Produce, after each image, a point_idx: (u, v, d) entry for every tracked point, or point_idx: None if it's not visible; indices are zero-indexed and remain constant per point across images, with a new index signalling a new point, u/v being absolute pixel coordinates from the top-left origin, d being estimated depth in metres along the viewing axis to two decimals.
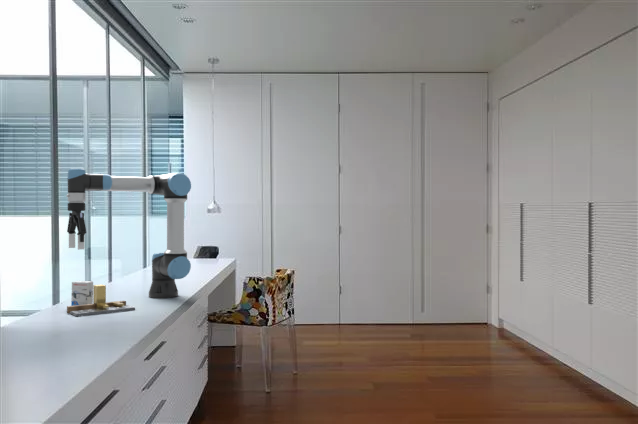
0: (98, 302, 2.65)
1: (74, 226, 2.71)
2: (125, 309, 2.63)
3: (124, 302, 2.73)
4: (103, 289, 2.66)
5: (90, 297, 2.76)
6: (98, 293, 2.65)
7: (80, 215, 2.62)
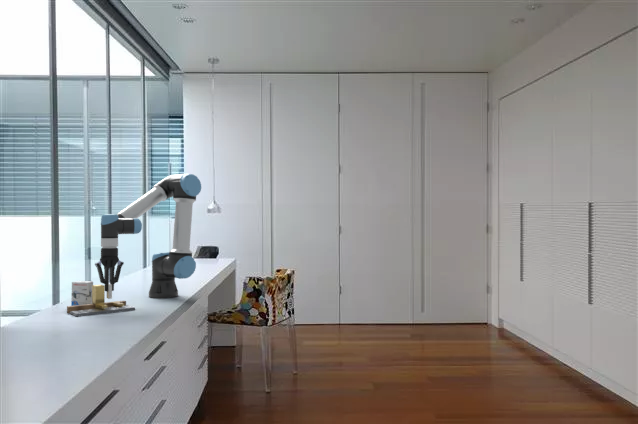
0: (97, 302, 2.64)
1: (111, 272, 2.70)
2: (125, 309, 2.63)
3: (124, 302, 2.73)
4: (102, 289, 2.66)
5: (90, 297, 2.76)
6: (97, 293, 2.64)
7: (96, 266, 2.66)
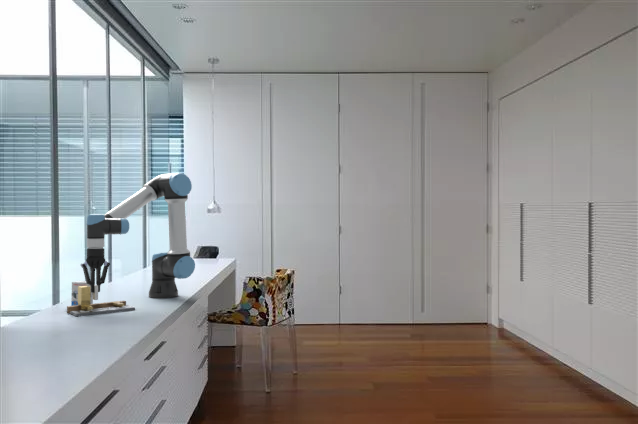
0: (82, 304, 2.60)
1: (97, 273, 2.66)
2: (125, 309, 2.63)
3: (124, 302, 2.73)
4: (87, 291, 2.62)
5: (90, 297, 2.76)
6: (82, 294, 2.60)
7: (82, 266, 2.62)
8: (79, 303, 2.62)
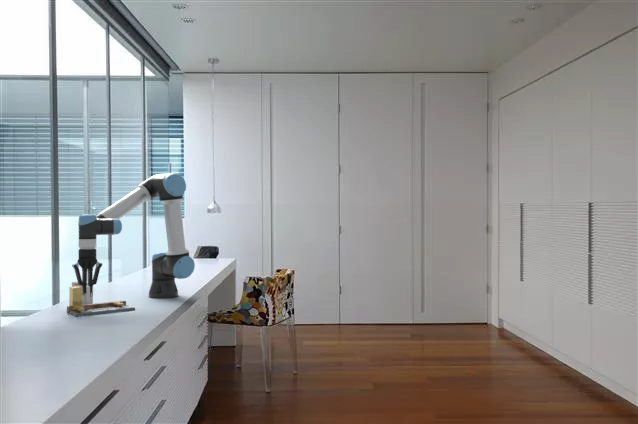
0: (74, 304, 2.58)
1: (89, 274, 2.64)
2: (125, 309, 2.63)
3: (124, 302, 2.73)
4: (79, 291, 2.59)
5: (90, 297, 2.76)
6: (74, 295, 2.58)
7: (73, 267, 2.60)
8: (70, 304, 2.59)
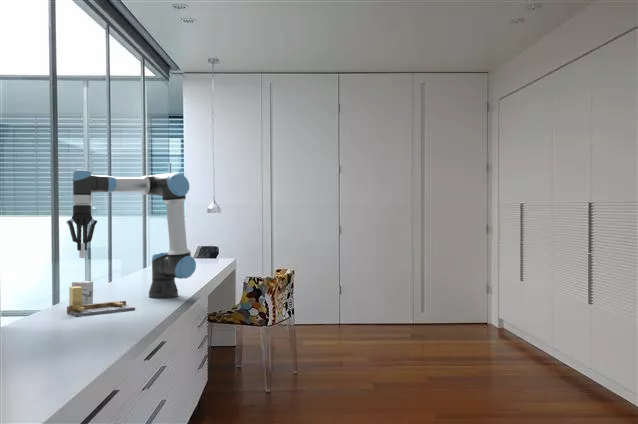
0: (74, 304, 2.58)
1: (83, 231, 2.59)
2: (125, 309, 2.63)
3: (124, 302, 2.73)
4: (79, 291, 2.59)
5: (90, 297, 2.76)
6: (74, 295, 2.58)
7: (68, 223, 2.55)
8: (70, 304, 2.59)
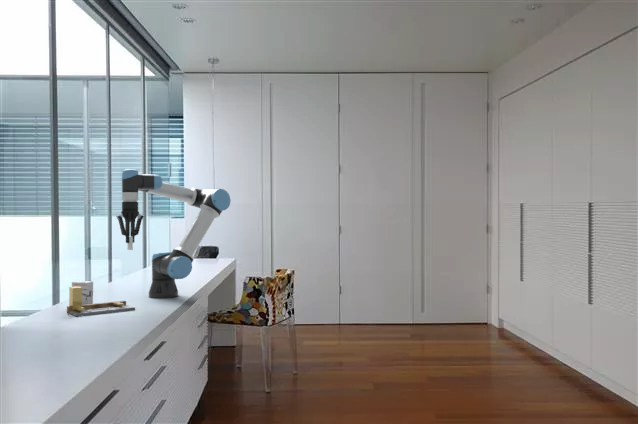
0: (74, 304, 2.58)
1: (131, 225, 2.83)
2: (125, 309, 2.63)
3: (124, 302, 2.73)
4: (79, 291, 2.59)
5: (90, 297, 2.76)
6: (74, 295, 2.58)
7: (118, 218, 2.80)
8: (70, 304, 2.59)
